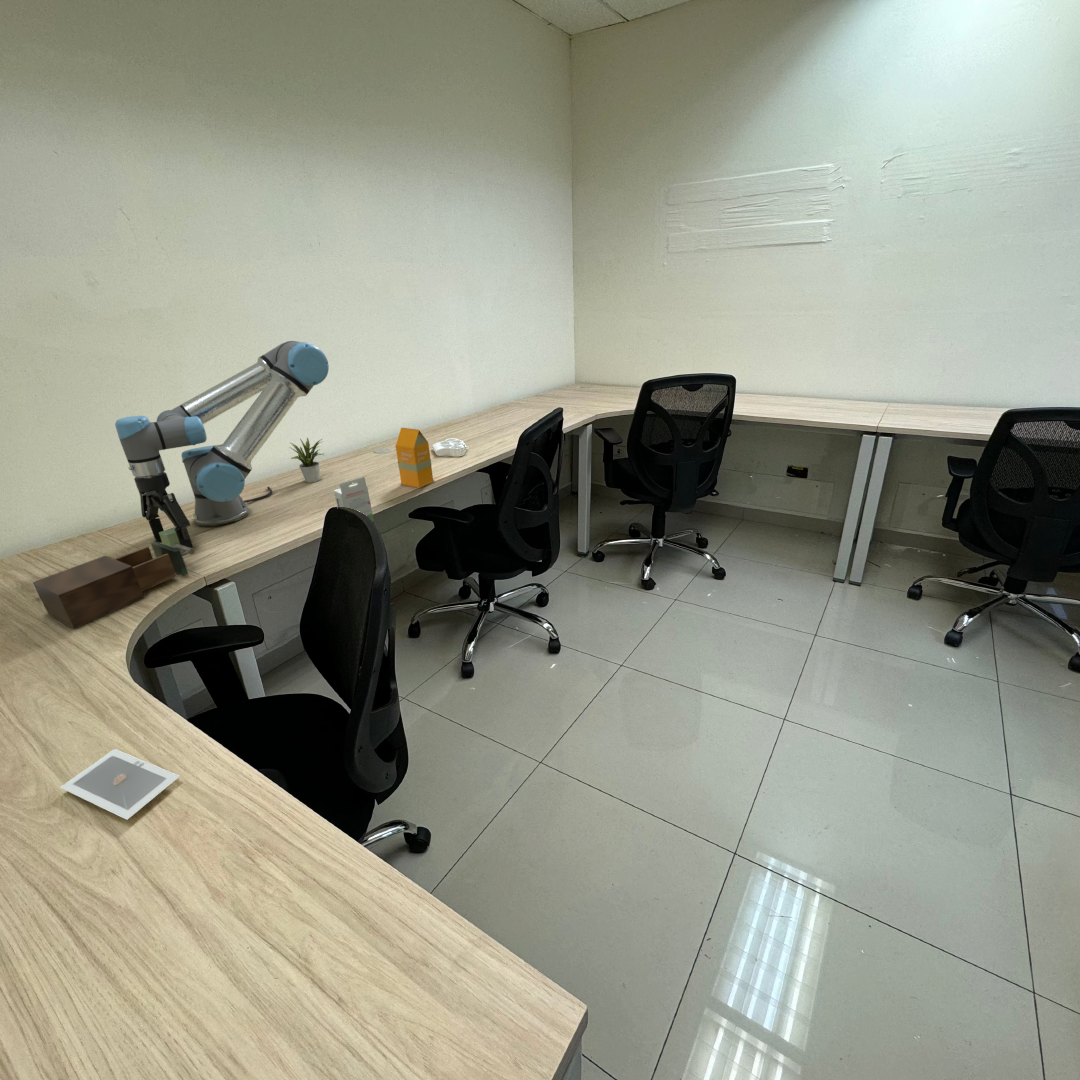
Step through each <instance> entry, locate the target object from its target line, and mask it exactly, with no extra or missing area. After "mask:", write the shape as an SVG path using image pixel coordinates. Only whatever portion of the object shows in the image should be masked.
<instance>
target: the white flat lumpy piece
mask: <svg viewBox="0 0 1080 1080" xmlns="http://www.w3.org/2000/svg"><path fill="white" fill-rule="evenodd" d="M431 448H432V450H433V451H434V452H435V453H434V454H435V455H437V456H438V457H449V456H451V457H454V458H455V457H463V456H465V455H466V452H467V449H469V448H470V446H467V443H465V441H464V440H461V439H459V438H455V437H454V438H453V437H451V438H447V439H444V440H442V441H436V442H434V443H433V444H431Z"/></svg>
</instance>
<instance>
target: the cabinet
mask: <svg viewBox="0 0 1080 1080" xmlns="http://www.w3.org/2000/svg"><path fill="white" fill-rule="evenodd" d="M32 584H33V587H34V588H35V590H36V593H37V595H38V596H39V599H40V600H41V602H42V605H43V606H44V609H45V610H46V612H47V615H48V616H50V617H52V618H54V619H56V620H57V621H59V622H61V623H63V624H64V625H66V626H67V627H71V628H72V629H74V630H75V629H77V628H79V627H82V626H84V625H86V624H88V623H91V622H93V621H95V620H97V619H100V618H102V617H104V616H107V615H109V614H112V613H114V612H115V611H118V610H120V609H123V608H124V607H126V606H129V605H131V604H134V603H136V602H138V601H141V600H142V599H145V596H144V593H143V591H142V590H141V588H140V585H139V583H138V580H137V578H136V575H135V573H134V570H133V568H132V566H130V565H128V564H125V563H122V562H120V561H117V560H115V558H112V557H110V556H107V555H103V556H100V557H97V558H95V559H92V560H89V561H86V562H83V563H81V564H78V565H76V566H73V567H70V568H67V569H64V570H62V571H59V572H57V573H54V574H52V575H48V576H46V577H43V578H41V579H37V580H35V581H33V582H32Z"/></svg>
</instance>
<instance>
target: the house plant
mask: <svg viewBox="0 0 1080 1080" xmlns="http://www.w3.org/2000/svg"><path fill="white" fill-rule="evenodd" d="M299 439H300V443H301V445H302V446H299V447H298V445H297V444H294V443H292V442H290V444H291V445H292V447H293V448H292V447H291V446H290V447H288V448H289V449H291V450H293V451H294V452H295V453H296V454H297V455H295V456H292V457H291V458H290V460H293V459H295V460H298V461H300V462H301V464H299V469H300V472H301V474H302V477H303V479H304V481H305V483H308V484H309V483H316V482H319V481H320V480H321V471H320V470H321V469H320V468H321V467H320V462H319V461H314V460H315V459H316V457H318V456H325V457H326V455H325V452H323V453H319V451H320V450H321V449H320V448H319V449H317V447H318V445H320V444H321V443H322V440H323V438H321V439H319V440H318V441H316V442H315V443H314V445H313V446H311V444H310V439H309V438H308V437H306V440H305V442H304V441H303V440H302V439H301V438H299Z"/></svg>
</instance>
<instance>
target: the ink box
mask: <svg viewBox="0 0 1080 1080" xmlns="http://www.w3.org/2000/svg"><path fill="white" fill-rule="evenodd" d="M352 483H353V484H352ZM333 493H334V497H335V502H336V507H337V508H338V507H347V508H352V509H355V510H358V511H360V512H362V513H364V514H365V515H367V517H369V518H370V519H371V520H372V522H371V523H374V522H375V518H374V514H373V509H372V503H371V497H370V492H369V488H368V485H367V482H366V477H365V476H360V477H357V478H354V479H350V480H347V481H343V482H340V483H339V488H338V489H334V490H333Z"/></svg>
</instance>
